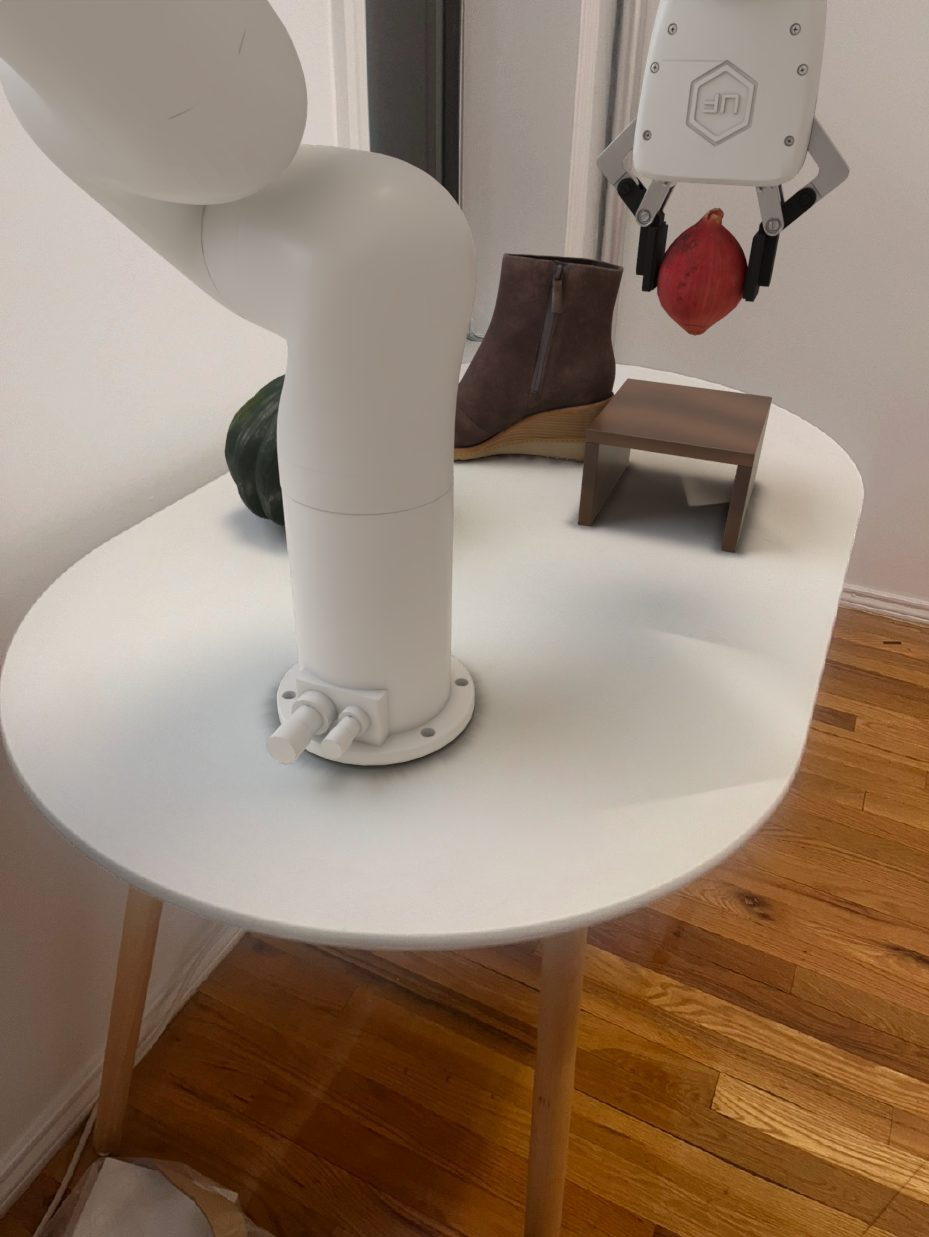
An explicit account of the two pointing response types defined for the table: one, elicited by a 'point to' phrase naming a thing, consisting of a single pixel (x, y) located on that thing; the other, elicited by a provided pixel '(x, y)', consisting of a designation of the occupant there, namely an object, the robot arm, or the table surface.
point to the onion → (702, 275)
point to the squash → (257, 453)
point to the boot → (540, 360)
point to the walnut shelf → (675, 439)
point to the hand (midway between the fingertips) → (700, 289)
